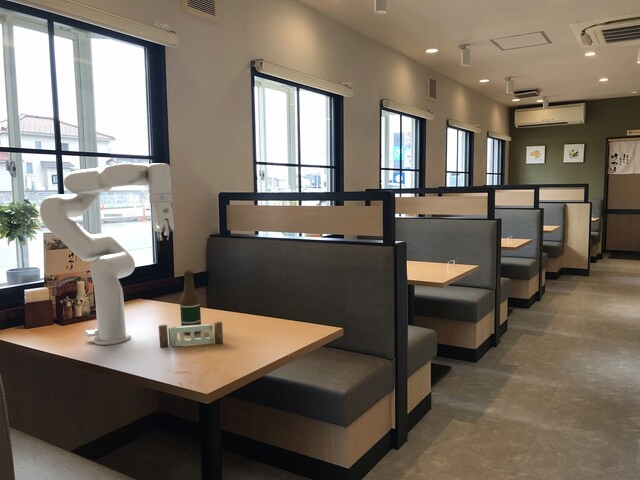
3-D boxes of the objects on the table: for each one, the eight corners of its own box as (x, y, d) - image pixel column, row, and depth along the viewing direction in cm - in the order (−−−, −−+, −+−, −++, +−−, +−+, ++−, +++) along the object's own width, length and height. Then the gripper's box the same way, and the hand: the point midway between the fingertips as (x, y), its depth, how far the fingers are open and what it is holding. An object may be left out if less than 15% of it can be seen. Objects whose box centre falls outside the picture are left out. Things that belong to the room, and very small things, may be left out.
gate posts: (159, 348, 174) (157, 326, 173) (161, 344, 178) (160, 323, 177) (222, 344, 176) (221, 323, 176) (223, 340, 180) (222, 320, 180)
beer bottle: (196, 335, 189) (193, 272, 186) (177, 334, 190) (174, 272, 188) (205, 329, 196) (202, 268, 194) (187, 329, 198) (183, 268, 195)
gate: (170, 347, 173) (169, 328, 173) (170, 345, 176) (169, 326, 175) (213, 343, 176) (212, 325, 175) (213, 341, 178) (212, 323, 178)
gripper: (178, 198, 171) (181, 252, 172) (165, 199, 183) (167, 248, 185) (156, 199, 166) (159, 254, 168) (143, 199, 179) (147, 250, 181)
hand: (163, 251), depth 177 cm, fingers closed
